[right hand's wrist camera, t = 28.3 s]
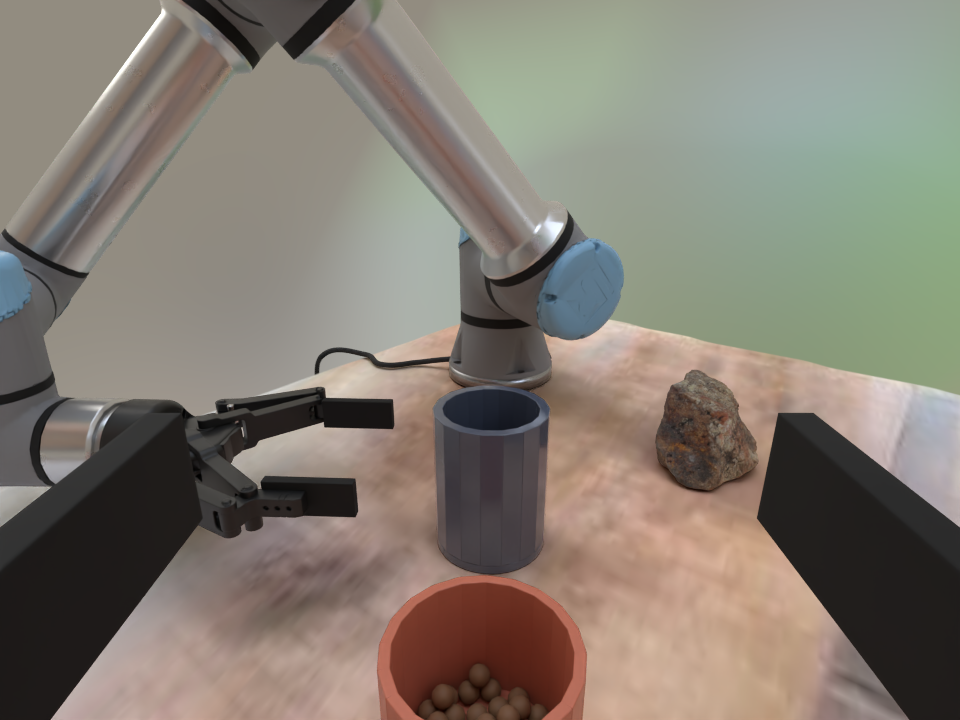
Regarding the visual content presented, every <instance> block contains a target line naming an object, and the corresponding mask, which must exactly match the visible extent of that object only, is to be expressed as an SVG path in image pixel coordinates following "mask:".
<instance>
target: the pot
mask: <svg viewBox="0 0 960 720" xmlns="http://www.w3.org/2000/svg"><path fill="white" fill-rule="evenodd" d="M586 653H587V652H586V649H585V646H584V643H583V640H582V637H581V634H580V631H579V628H578V627H577V625H576V624H575V623H574V621H573V620H572V619H571V617H570V616H569V615H568V614H567V612H566V611H565V610H564V608H563V607H562V606H561V605H560V604H559V603H557V602H556V601H554V600H553V599H552V598H550V597H549V596H548V595H546V594H545V593H544V592H542V591H541V590H539V589H537V588H535V587H532V586H530V585H527V584H525V583H522V582H520V581H517V580H514V579H509V578H502V577H496V576H489V575H480V576H466V577H460V578H459V577H458V578H454V579H451V580H448V581H445V582H441V583H438V584H435V585H432V586H430V587H429V588H427V589H425V590H424V591H422V592H420V593H419V594H417V595H415V596H414V597H412V598H410V600H408V601H407V602H406V604H405V605H404V606H403V607H402V608H401V609H400V610H399V611H398V612H397V613H396V614H395V615H394V616H393V617H392V619H391V620H390V622H389V624H388V626H387V629H386V631H385V633H384V635H383V637H382V639H381V641H380V644H379V653H378V665H377V675H378V687H379V699H380V711H381V720H424V719H422V718H420V717H419V716H418V708H419V706H420V705H421V703H422V702H423V701H425V700H427V699H431V697H432V691H433V690H434V688H435V687H436V686H438V685H440V684H447V685H450V686H452V687H454V688H455V689H456V691H457V694H458V689H459V686H460V685H461V683H462V682H464V681H465V680H467V679H468V680H469V670H470V669H471V668H472V666H473V665H475V664H477V663H481V664H484V665H485V666H487V667H488V669H489V671H490V678H494V679H496V680H497V681H498V682H499V683H500V686H501V688H502V689H501V695H500V697H503V698H505V699H506V700H507V701H508V694H509V693H510V691H511V690H512V689H514V688H516V687H520V688H523V689H524V690H525V691H527V693H528V695H529V702H530V704H531V707H532V706H533V705H535V704H541V705H543V706H544V707H546V708H547V709H548V712H549V713H548V714H547V715H546V716H545V717H544V718H543V719H542V720H582V716H583V705H584V693H585V682H586V662H587V654H586ZM431 700H432V699H431ZM475 703H479V704H482V705H483V706H485V707H486V708H487V711H488V706H489V703H490V702H487V701H485V700H484V699H483V698H482V696H481V693H480V688H479V697H478V699H477V700H476V701H475V702H474V703H472V704H470V705H469V704H464V703H463V702H462V701H461V700H460V698H459V695H458V702H457V704H459V705H460V706H461V707H462V708H463V709H464V712H465V714H466V715H467V710H468V709H469V708H470V706H472V705H473V704H475ZM444 711H445V710H441V709H440V712H443V713H444ZM488 713H489V712H488ZM465 720H467V719H466V716H465ZM525 720H528V719H527V718H526V719H525Z"/></svg>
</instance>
